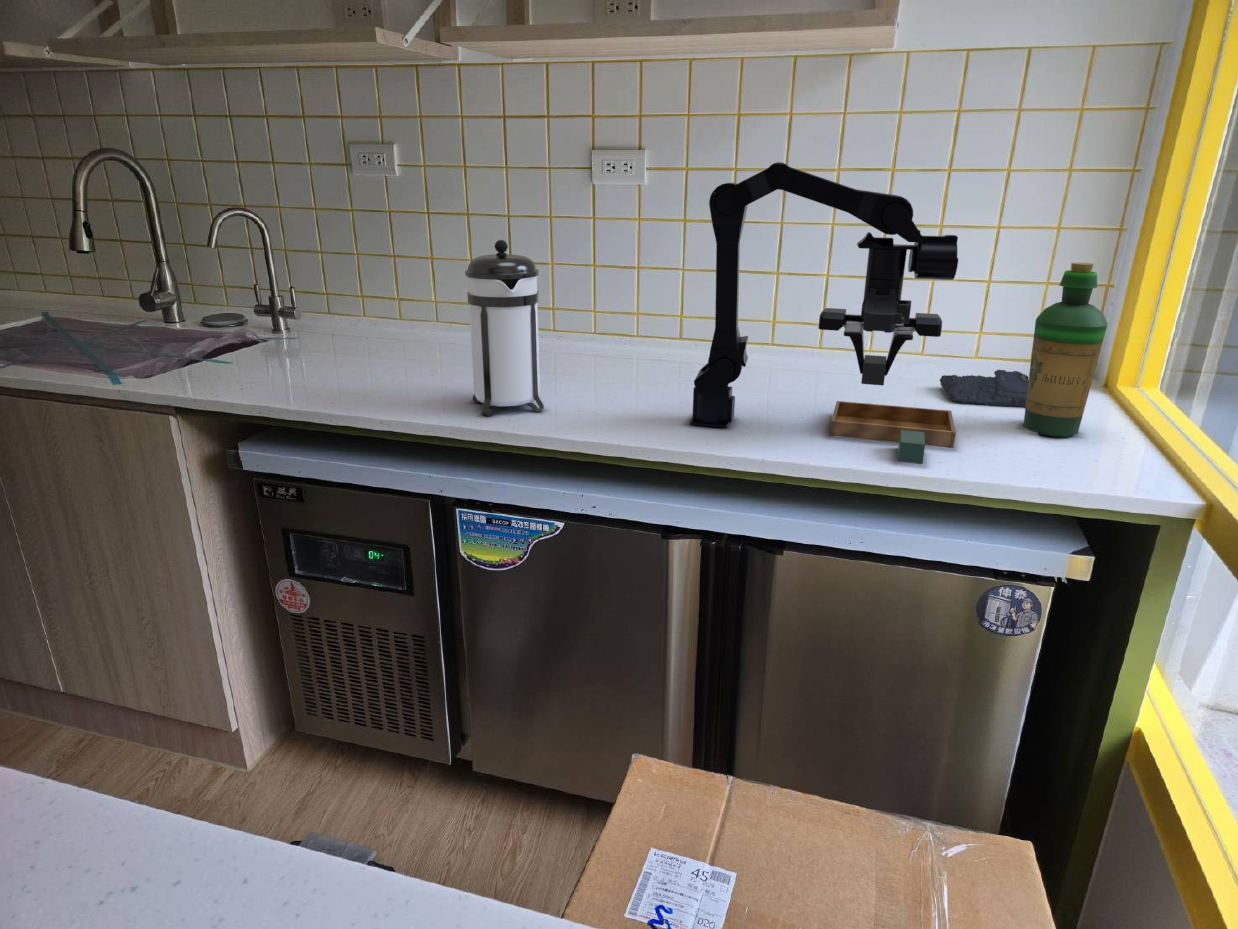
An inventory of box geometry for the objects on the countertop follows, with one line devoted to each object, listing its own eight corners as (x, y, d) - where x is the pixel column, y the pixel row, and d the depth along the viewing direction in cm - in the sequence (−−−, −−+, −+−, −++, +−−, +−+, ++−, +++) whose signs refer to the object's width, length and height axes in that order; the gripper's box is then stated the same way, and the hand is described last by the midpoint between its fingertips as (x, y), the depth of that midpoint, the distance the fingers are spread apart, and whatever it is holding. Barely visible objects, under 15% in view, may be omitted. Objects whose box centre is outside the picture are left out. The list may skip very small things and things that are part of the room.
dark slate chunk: (933, 384, 170) (936, 361, 169) (1045, 389, 167) (1050, 366, 165) (947, 403, 156) (951, 379, 155) (1071, 410, 153) (1076, 385, 151)
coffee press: (566, 401, 156) (564, 238, 145) (515, 422, 143) (508, 244, 132) (494, 389, 164) (487, 234, 154) (440, 408, 151) (428, 240, 141)
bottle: (1005, 430, 140) (1035, 263, 131) (1029, 418, 147) (1059, 258, 138) (1072, 444, 133) (1108, 268, 124) (1094, 431, 140) (1129, 263, 131)
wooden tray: (829, 438, 136) (831, 420, 135) (835, 416, 147) (836, 400, 146) (953, 450, 130) (955, 432, 129) (948, 427, 142) (951, 410, 141)
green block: (897, 464, 124) (900, 442, 123) (897, 450, 130) (900, 429, 128) (922, 466, 123) (925, 444, 122) (921, 453, 129) (924, 432, 127)
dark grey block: (861, 383, 133) (863, 362, 132) (862, 375, 139) (864, 354, 138) (883, 385, 132) (886, 364, 131) (884, 376, 138) (886, 356, 137)
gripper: (820, 281, 125) (811, 380, 131) (950, 287, 120) (935, 390, 125) (825, 273, 135) (817, 365, 141) (946, 278, 130) (932, 374, 135)
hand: (873, 374), depth 135 cm, fingers closed on dark grey block, 3 cm apart
